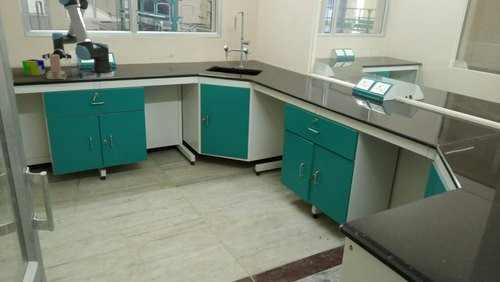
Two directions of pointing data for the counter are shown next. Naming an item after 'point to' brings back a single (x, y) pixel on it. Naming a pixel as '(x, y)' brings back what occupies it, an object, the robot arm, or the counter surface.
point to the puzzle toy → (33, 67)
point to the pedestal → (56, 75)
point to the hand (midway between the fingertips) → (56, 58)
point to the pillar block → (55, 63)
